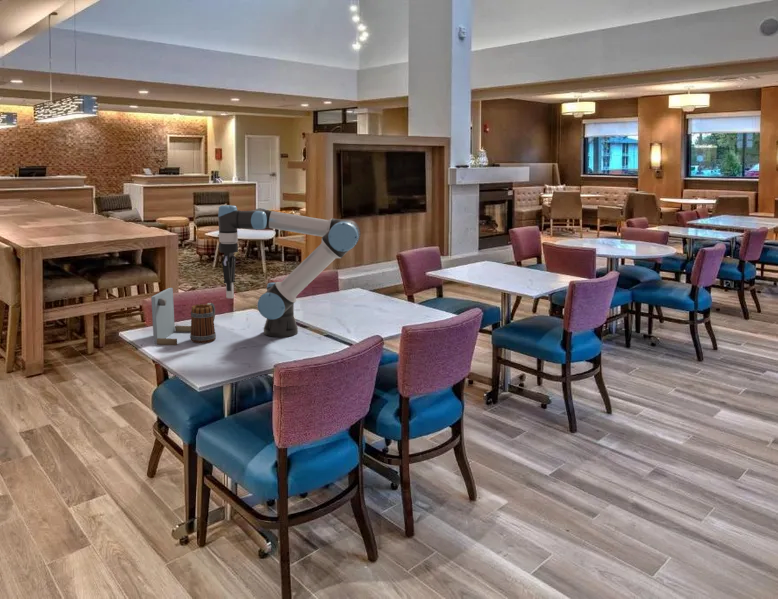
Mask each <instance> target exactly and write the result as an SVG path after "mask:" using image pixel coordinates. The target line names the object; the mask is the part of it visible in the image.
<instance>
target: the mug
mask: <svg viewBox="0 0 778 599" xmlns="http://www.w3.org/2000/svg"><path fill="white" fill-rule="evenodd" d="M190 317H191V318H190V320H191V321H190V326H191V332H190V335H189V338H190V341H191V342H192V343H195V344H208V343H209V344H210V343H212V342H214V341H215V340H216V336H217V334H216V329H215V317H216V307H215V304H214V303H213V302H207V303H205V304H202V303H201V304H194V305H192V306H191V312H190Z"/></svg>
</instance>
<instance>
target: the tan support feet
mask: <svg viewBox="0 0 778 599" xmlns="http://www.w3.org/2000/svg"><path fill="white" fill-rule="evenodd" d="M175 332H177V333H178V332H179V333H181V332H182V333H191V325H175ZM175 332H174V333H175ZM177 345H178V338H170V337H167V338H157V344H156V346H177Z"/></svg>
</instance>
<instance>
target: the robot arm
mask: <svg viewBox="0 0 778 599" xmlns="http://www.w3.org/2000/svg"><path fill="white" fill-rule="evenodd" d="M217 213H218V215H217V218H218V234H217V237H219V238H218V240H219V242H220V243H219V246H218V247H219V248H218V250H219V252H220V253H223V257H222V261H221V264H222V271H223V272H222V273H223V284H225V296H226V298H225V299H234V297H235V296H234V295H235V293H234V283H236V278H235V277H236V260H237V257H236V256H235V255H234V254H236V253H238V251H239V245H238V242H239V238H238V229H240V230H242V229H243V230H256V231H257V230H264V229H266V228H267V229H273V230H279V231H287V232H291V233H296V234H297V233H298V234H302V235H303V234H304V235H309V236H310V235H311V236H315V237H321V243H320V244H319V245H317V247H316V248H315V249H314V250H313V251H312V252H311V253H310V254H309V255H307V257H306V258H304V259H303V261H302V262H301V263H299V265H297V266H296V267H295V268H294V269H293V270H292V271H291V272H290V273H289V274H288V275H287V276H286V277H285V278H284V279H283V280H282V281H276V282H268V283H267V285H266V291H265V293H262V294H261V295H260V296H259V299H258V301H257V310H258V312H259V313H260V315H261V316H262V317H263V318H265V319H266V321H265V324H264V327H263V334H264V335H265V336H268V337H273V338H274V337H275V338H285V337H286V338H287V337H292V336H295V335H297V334H298V332H299V327H298V325H297V322H296V319H295V315H294V314H295V313H294V311H295V308H294V307H295V306H294V304H296V302H297V296H298V295H299V294H300V293H302V291H303V290H304V289H306V288H307V287H308V285H309V284H310V283H312V282H313V280H315V279H316V278H317V277H318V276H319V275H320V274H321V273H322V272H323V271H324V270H325V269H326V268H328V266H329V265H331V263H333V261H335V260H336V259H342V258H343V257H344V256H345V255H346V254H347V253H349V252H350V250H352V249H353V248H355V247H356V245H357V244H358V242H359V241H360V239H361V228H360V226H359V224H358V223H357V222H356V221H354V220H352V219H340V218H330V219H323V218H316V217H311V216H310V217H309V216H306V215H299V214H293V213H287V212H281V211H280V212H279V211H275V210H268V209H264V208H255V209H253V210H238V208H237V206H236V205H231V204H229V205H228V204H227V205H226V204H225V205H220V206H219V207H218V212H217Z"/></svg>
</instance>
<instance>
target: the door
mask: <svg viewBox="0 0 778 599" xmlns="http://www.w3.org/2000/svg"><path fill="white" fill-rule="evenodd" d="M150 300H151V314H152V315H151V317H152V334H153V344H155V345H157V338H169V337H170V336H171V335H172V334H174V333H175V326H176V325H175V309H174V308H175V305H174V304H175V303H174V289H173V287H168V288H166V289H164V290H162V291H159V292H158V293H156V294H154V295H152V296H151V298H150ZM173 332H174V333H173Z"/></svg>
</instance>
